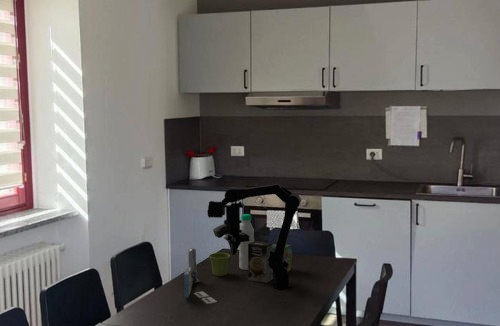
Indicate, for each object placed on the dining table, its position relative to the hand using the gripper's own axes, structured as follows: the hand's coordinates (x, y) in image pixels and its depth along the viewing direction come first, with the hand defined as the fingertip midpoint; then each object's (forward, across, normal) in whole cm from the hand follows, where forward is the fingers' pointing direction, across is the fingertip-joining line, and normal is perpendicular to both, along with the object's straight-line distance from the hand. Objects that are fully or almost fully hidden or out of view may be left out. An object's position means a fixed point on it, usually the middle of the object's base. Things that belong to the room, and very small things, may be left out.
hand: (233, 254), depth 260 cm
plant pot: (+13, -17, +1) cm, 22 cm away
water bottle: (+13, -20, +16) cm, 29 cm away
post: (+13, -13, -13) cm, 23 cm away
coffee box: (+13, -1, +13) cm, 19 cm away
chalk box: (+13, -9, +27) cm, 32 cm away
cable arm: (+12, -1, -20) cm, 23 cm away
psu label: (+13, +6, -17) cm, 23 cm away
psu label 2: (+13, +14, -18) cm, 26 cm away
